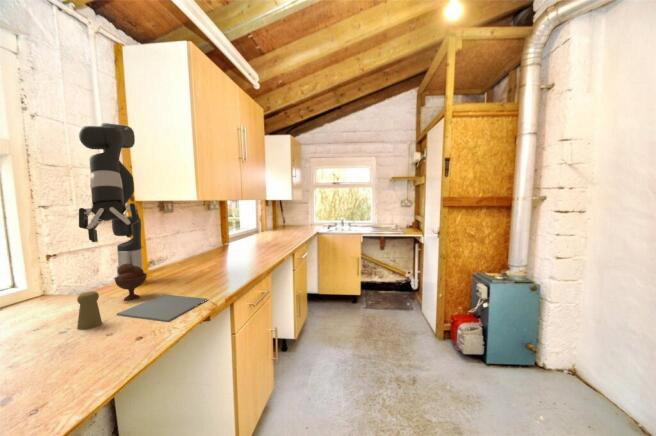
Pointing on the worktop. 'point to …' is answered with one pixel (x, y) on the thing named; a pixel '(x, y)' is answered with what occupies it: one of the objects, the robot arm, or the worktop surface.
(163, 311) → the charcoal mat
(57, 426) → the worktop surface
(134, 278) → the ice cream bowl
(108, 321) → the worktop surface
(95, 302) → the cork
